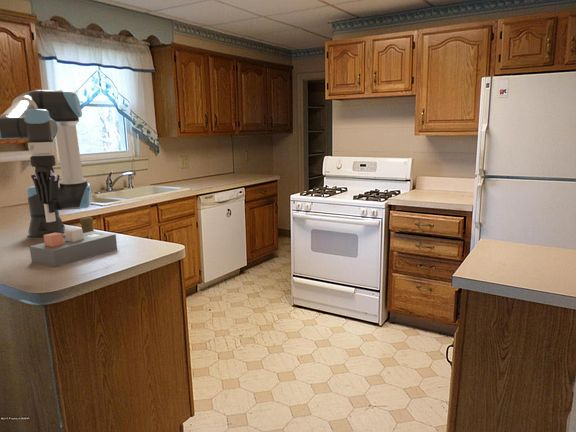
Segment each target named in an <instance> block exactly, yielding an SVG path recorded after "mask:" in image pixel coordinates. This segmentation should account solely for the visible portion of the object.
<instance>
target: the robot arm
mask: <svg viewBox="0 0 576 432" xmlns="http://www.w3.org/2000/svg"><path fill="white" fill-rule="evenodd" d="M80 103H81V102H80V100H79V97H78V94H77V93H76V92H75V91H74V90H70V89H35V90H30V91H27V92H24V93H22V94H20V95H18V96H17V97H15V98H14V99H13V100H12V102H11V105H10V107H8V108H7V109H6V110H5V111H4V112H3V113H2V114H1V115H0V140H14V139H16V140H17V139H27V143H28V150H29V154H30V155H31V156H30V157H29V159H30V166H31V167H32V168H35V169H34V174H31V175H30V177H31V180H32V182H33V185H31V186H29V187H28V188H27V190H26V193H27V194H26V195H27V197H26V198H27V202H28V209H29V214H30V220H29V221H30V222H29V225H28V230H27V231H28V236H29V237H32V238H41V237H43V238H44V235H46V234H50V233H62V234H63V233H64V234H65V232H64V230H66V226H65V225H64V222H63V220H62V218H61V216H60V212H59V211H67V210H69V211H70V210H83V209H88V208H90V206H91V203H92V192H93V191H92V184H91V183H88V179H86V178H85V177H84V176H83V175H84V174H83V168H82V167H83V166H82V162H81V161H82V160H81V154H80V147H79V139H78V131H77V130H78V129H77V124H78V123H79V121H80V119H79V118H82V116H83V112H82V107H81V104H80ZM53 137H56V143H57V145H56V146H57V150H58V151H57V152H58V156H59V157H58V158H59V164H60V170H61V177H62V178H61V180H60V175H59V174H55V171H54V166H56V165H57V162H56V156H55V155H54V154H55V147H54V146H55V145H54V141H53ZM59 180H60V181H59Z"/></svg>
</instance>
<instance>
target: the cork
mask: <svg viewBox="0 0 576 432" xmlns="http://www.w3.org/2000/svg"><path fill="white" fill-rule="evenodd" d="M79 224H80V226H81V229H82V231H83V233H86V232H90V231H94V226H93V224H94V218H93V217H91V216H83V217H81V218H80V219H79Z"/></svg>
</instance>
